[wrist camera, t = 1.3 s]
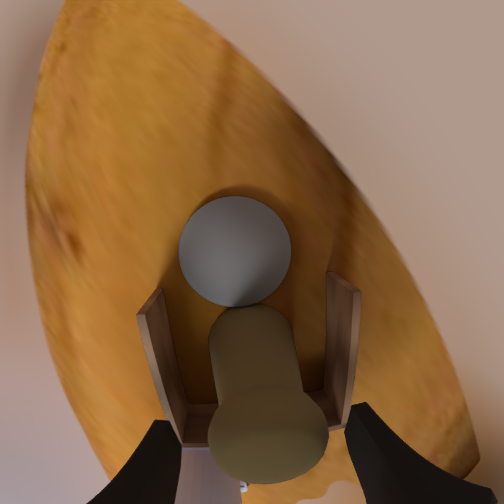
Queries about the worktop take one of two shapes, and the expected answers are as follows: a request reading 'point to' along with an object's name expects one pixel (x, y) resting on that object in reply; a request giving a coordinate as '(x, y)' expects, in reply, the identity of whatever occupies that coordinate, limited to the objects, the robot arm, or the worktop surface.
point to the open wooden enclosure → (200, 415)
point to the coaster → (234, 251)
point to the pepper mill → (261, 399)
